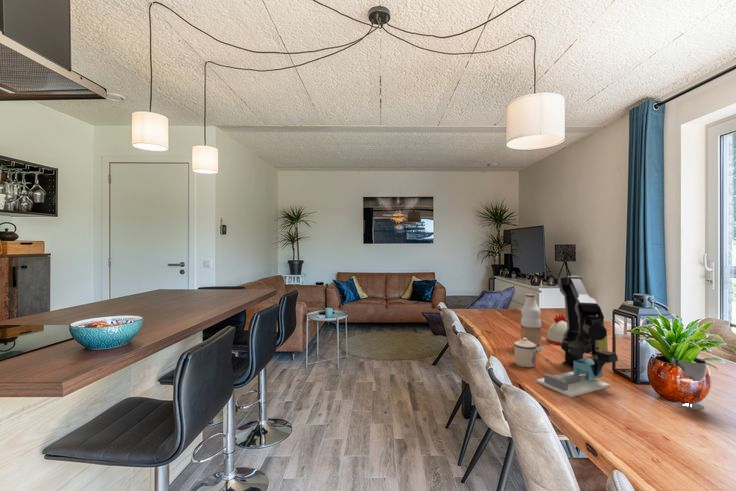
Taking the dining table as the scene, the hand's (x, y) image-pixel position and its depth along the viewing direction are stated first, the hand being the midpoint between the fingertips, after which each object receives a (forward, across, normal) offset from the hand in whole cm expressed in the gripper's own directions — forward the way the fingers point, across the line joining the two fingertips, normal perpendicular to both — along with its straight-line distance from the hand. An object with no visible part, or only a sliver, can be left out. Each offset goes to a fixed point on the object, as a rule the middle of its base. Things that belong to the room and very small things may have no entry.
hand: (587, 373), depth 128 cm
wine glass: (+3, +26, +11) cm, 29 cm away
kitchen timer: (+3, -40, +39) cm, 56 cm away
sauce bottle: (+3, -16, +32) cm, 36 cm away
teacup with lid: (+3, -24, -6) cm, 25 cm away
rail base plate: (+3, 0, -8) cm, 9 cm away
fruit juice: (+3, -38, +14) cm, 40 cm away
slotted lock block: (+1, 0, 0) cm, 1 cm away
